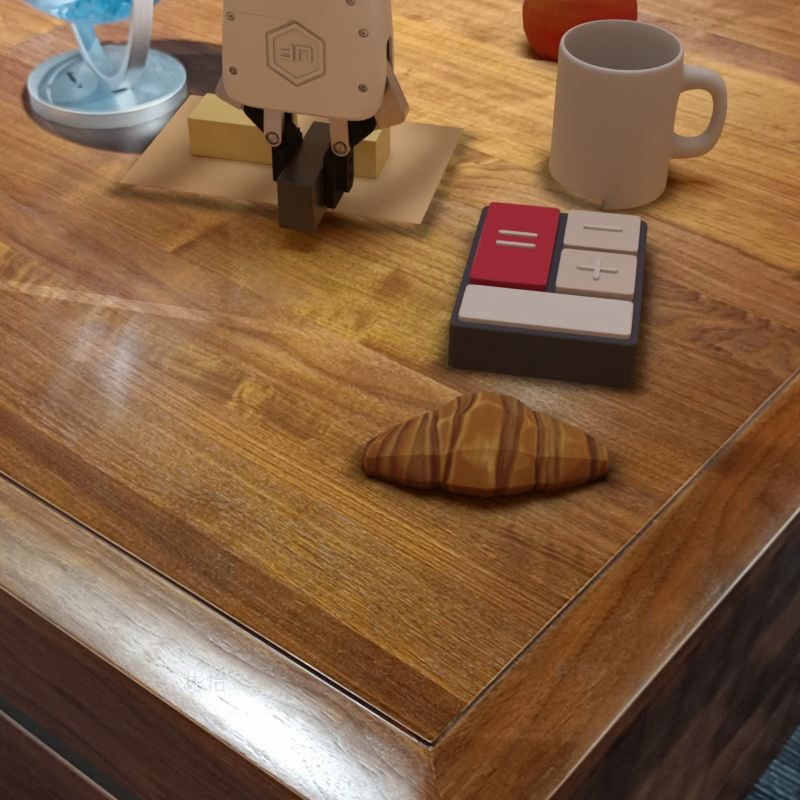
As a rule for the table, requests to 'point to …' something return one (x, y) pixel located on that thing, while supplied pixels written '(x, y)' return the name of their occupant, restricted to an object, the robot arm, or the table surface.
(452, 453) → the croissant
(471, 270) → the calculator
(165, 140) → the butter wrapper
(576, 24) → the fruit
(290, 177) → the knife
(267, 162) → the butter stick
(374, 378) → the table surface
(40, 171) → the table surface
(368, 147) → the butter pat
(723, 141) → the table surface
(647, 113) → the mug
